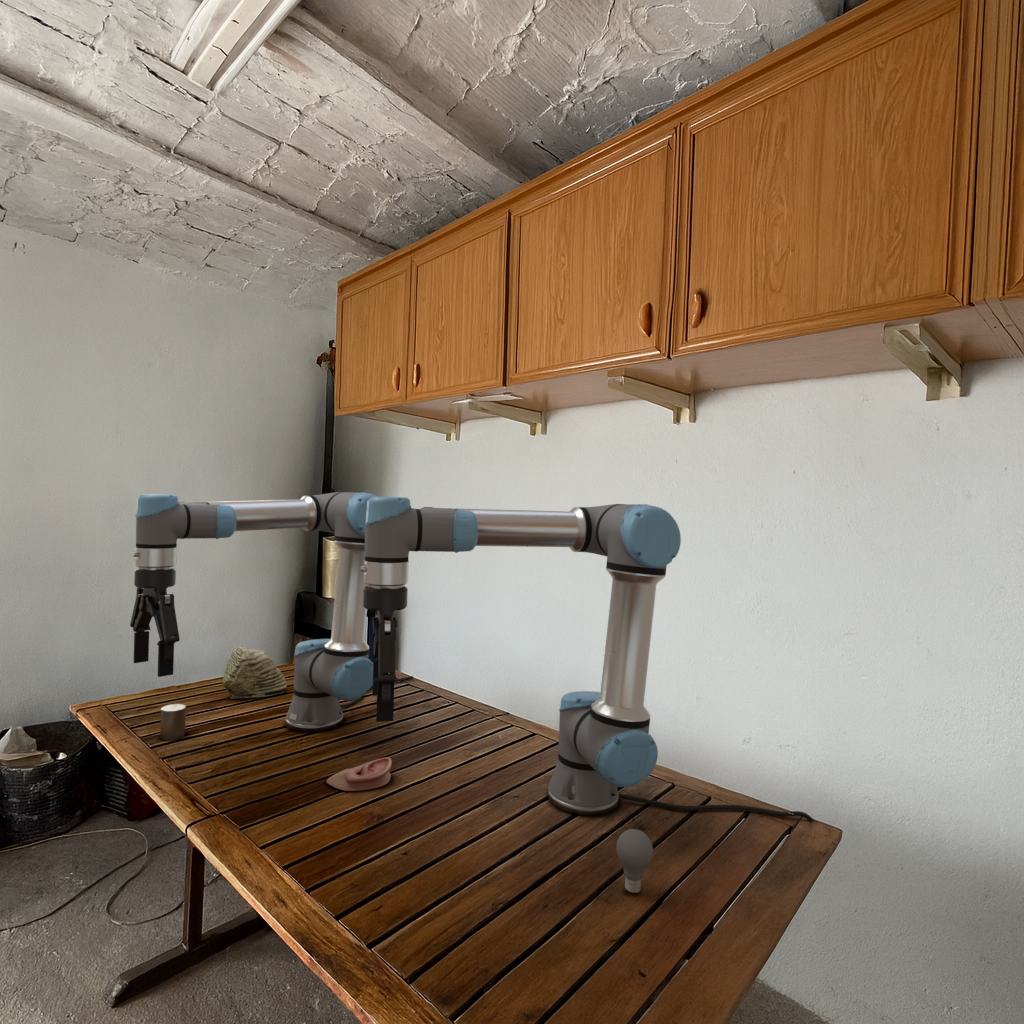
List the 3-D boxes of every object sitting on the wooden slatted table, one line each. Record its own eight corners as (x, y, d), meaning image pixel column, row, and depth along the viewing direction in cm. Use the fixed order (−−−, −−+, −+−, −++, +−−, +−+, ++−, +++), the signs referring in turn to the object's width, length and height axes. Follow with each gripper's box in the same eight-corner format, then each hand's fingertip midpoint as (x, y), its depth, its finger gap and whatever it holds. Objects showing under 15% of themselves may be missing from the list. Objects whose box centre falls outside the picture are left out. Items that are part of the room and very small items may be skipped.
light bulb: (610, 879, 108) (613, 822, 108) (644, 879, 109) (647, 822, 109) (619, 902, 102) (622, 840, 102) (655, 901, 103) (658, 840, 103)
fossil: (218, 695, 195) (220, 647, 195) (278, 685, 208) (279, 640, 207) (228, 703, 189) (230, 653, 188) (289, 692, 201) (290, 645, 201)
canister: (154, 738, 160) (155, 709, 160) (171, 731, 166) (172, 702, 166) (174, 741, 159) (175, 712, 159) (189, 733, 165) (190, 705, 165)
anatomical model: (320, 769, 137) (344, 749, 149) (319, 787, 138) (343, 766, 149) (377, 777, 135) (397, 756, 146) (376, 795, 135) (397, 773, 146)
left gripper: (115, 562, 138) (112, 659, 138) (159, 575, 121) (156, 685, 122) (152, 561, 143) (150, 654, 144) (199, 573, 127) (196, 678, 127)
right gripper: (361, 576, 121) (358, 686, 121) (366, 597, 97) (362, 734, 97) (401, 576, 123) (397, 685, 123) (415, 596, 99) (411, 731, 99)
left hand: (152, 668), depth 133 cm, fingers open, 13 cm apart
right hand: (382, 707), depth 110 cm, fingers open, 13 cm apart
